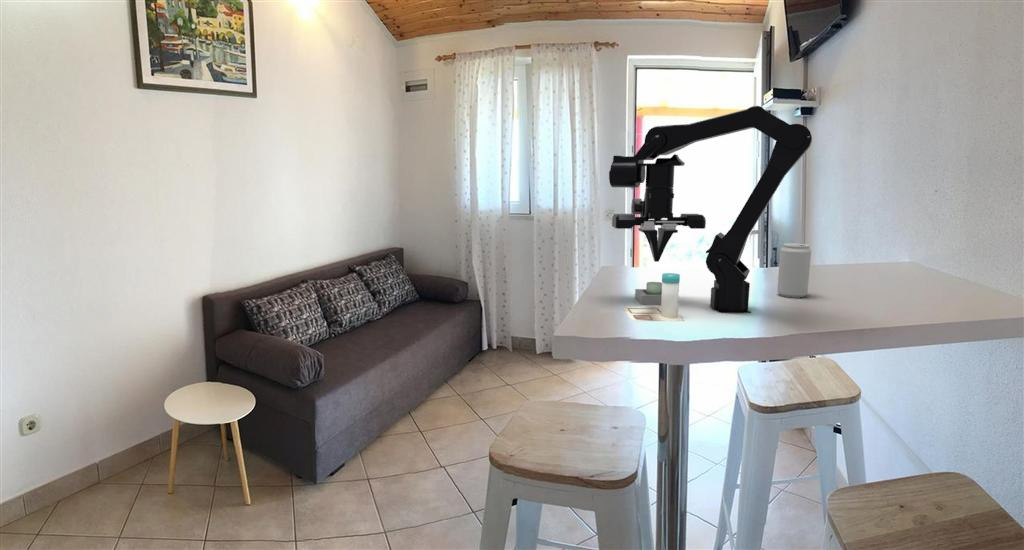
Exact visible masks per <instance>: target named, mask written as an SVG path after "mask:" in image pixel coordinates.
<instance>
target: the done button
mask: <svg viewBox="0 0 1024 550" xmlns="http://www.w3.org/2000/svg"><path fill="white" fill-rule="evenodd" d="M645 286H646V287H645V289H646V294H662V281H660V282H659V281H647V282H646V285H645Z"/></svg>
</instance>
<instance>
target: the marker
mask: <svg viewBox="0 0 1024 550" xmlns="http://www.w3.org/2000/svg"><path fill="white" fill-rule="evenodd" d="M680 278H681V275H680V274H679V273H674V272H673V273H672V272H666V273H665V272H664V273H662V275H661V283H662V298H661V305H660V307H661V316H662V317H667V318H675V317H677V316H678V315H679V314H678V313H679V296H680V295H679V293H680V280H681V279H680Z"/></svg>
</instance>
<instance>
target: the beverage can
mask: <svg viewBox="0 0 1024 550" xmlns="http://www.w3.org/2000/svg"><path fill="white" fill-rule="evenodd" d="M810 246H811V245H810V244H805V243H795V242H794V243H790V242H789V243H782V247H781V248H780V251H779V263H778V278H777V287H776V288H777V290H776V292H777V293H778V294H779V296H781V297H786V298H791V297H792V298H793V299H795V298H796V299H801V298H800V297H802V298H804V297H805V296H806V295H808V293H809V280H810V268H811V256H812V251H811V248H810ZM792 298H791V299H792Z"/></svg>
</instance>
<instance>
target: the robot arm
mask: <svg viewBox="0 0 1024 550" xmlns="http://www.w3.org/2000/svg"><path fill="white" fill-rule="evenodd" d="M751 129H756V130H757V131H758V132H760V133H762V134H764V135H766V136H767V137H769V138H771V139H773V140H774V141H775V144H774V147H773V149H772V151H771V154H770V158H769V161H768V164H767V166H766V168H765V170H764V172H763V173H762V175H761V177H760V179H759V180H758V181H757V183H756V185H755V186H754V188H753V190H752V192H751V193H750V195H749V197H748V198H747V200H746V202H745V204H744V205H743V207H742V209H741V210H740V212H739V214H738V215H737V217H736V219H735V220H734V223H732V226H731V227H730V228H729V229H728V230H727V232H726V233H725V234H723V233H722V232H718V233H717V234H715V236H714V238H713V242H712V243H711V246H710V247H709V248H708V249H707V250H706V251H705V254H707V256H706V259H705V264H706V268H707V269H708V270H709V271H708V272H710V273H711V274H713V276H714V278H715V279H714V280H713V287H711V288H710V299H709V300H710V302H709V307H710V308H711V309H713V310H715V311H716V312H718V313H720V314H750V313H752V311H751V310H749V302H750V301H749V299H750V287H751V286H750V285H751V283H750V282H749V281H746V279H747V278H748V275H749V273H750V269H749V268H748V267H747V266H746V265H745V264H744V263H743V262H742V260H741V258H742V254H743V252H744V250H745V247H746V245H747V244H746V243H747V241H748V239H749V236H750V234H751V233H752V231H753V229H754V227H755V226H756V224H758V223H757V222H758V221H759V219H760V218H761V216H762V214H763V213H764V212H765V209H766V208H767V206H768V205H769V203H770V202H771V199H772V198H773V196H774V194H775V193H776V191H777V190H778V188H779V187H780V185H781V183H782V181H783V179H784V178H785V176H786V175H787V174H788V173H789V172H790V171H791V169H793V168H794V166H795V165H796V164H797V162H799V161H800V160H801V158H803V156H804V155H805V154H806V152H807V151H808V150H809V149H810V148H811V145H812V142H813V137H812V134H811V131H810V130H809V128H808V127H807V126H805V125H804V124H801V123H791V124H789V123H788V122H786V121H785V120H783V119H781V118H779V117H778V116H775V115H773V113H770V112H768V111H767V110H766V109H765V108H764V107H762V106H759V105H752V106H750V107H748V108H745V109H742V110H738V111H733V112H730V113H726V114H722V115H719V116H714V117H712V118H707V119H703V120H700V121H696V122H691V123H685V124H670V125H669V124H667V125H657V126H656V125H655V126H654V127H652V128H650V129H648V131H647V133H646V134H645V137H644V143H643V144H642V146H641V147H640V149H638V151H637V152H636V153H635V155H634V156H624V155H614V156H613V157H612V162H611V165H610V170H609V171H608V180H609V185H610V187H611V188H631V189H632V188H634V189H635V188H636V189H637V188H639V187H640V185H641V184H643V183H644V182H645V189H644V190H645V192H644V198H643V199H642V198H632V199H631V213H614V214H613V216H612V219H611V220H612V222H611V227H613V228H614V229H618V230H619V229H621V230H623V229H625V230H627V229H628V230H629V229H631V230H632V229H633V227H635V226H639V227H637V228H638V231H639V232H641V233H643V234H644V236H645V238H646V239H647V242H648V245H649V249H650V252H651V255H652V259H653V261H654V262H656V263H657V262H659V261H660V259H661V257H662V255H663V253H664V250H665V248H666V247H667V244H668V243H669V241H670V240H671V238H672V236H673V234H677V233H678V229H677V226H683V227H689V228H690V229H691V230H692V229H703V230H705V229H706V224H707V222H706V217H705V216H704V214H699V213H681V214H680V216H674V213H673V202H674V198H675V193H674V183H675V181H674V180H675V167H684V166H685V162H684V161H683V160H682V159H681V158H680V157H679V155H678V154H673V153H675V152H677V151H680V150H683V149H684V148H686V147H688V146H690V145H692V144H695V143H698V142H701V141H706V140H709V139H714V138H718V137H723V136H726V135H731V134H734V133H739V132H742V131H746V130H747V131H748V130H751ZM671 154H673V155H672V156H671V157H660V156H668V155H671ZM654 160H655V162H654V163H648V162H647V163H646V162H645V163H644V161H654ZM635 215H639V216H635ZM655 226H660V227H657V229H656V228H655Z"/></svg>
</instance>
